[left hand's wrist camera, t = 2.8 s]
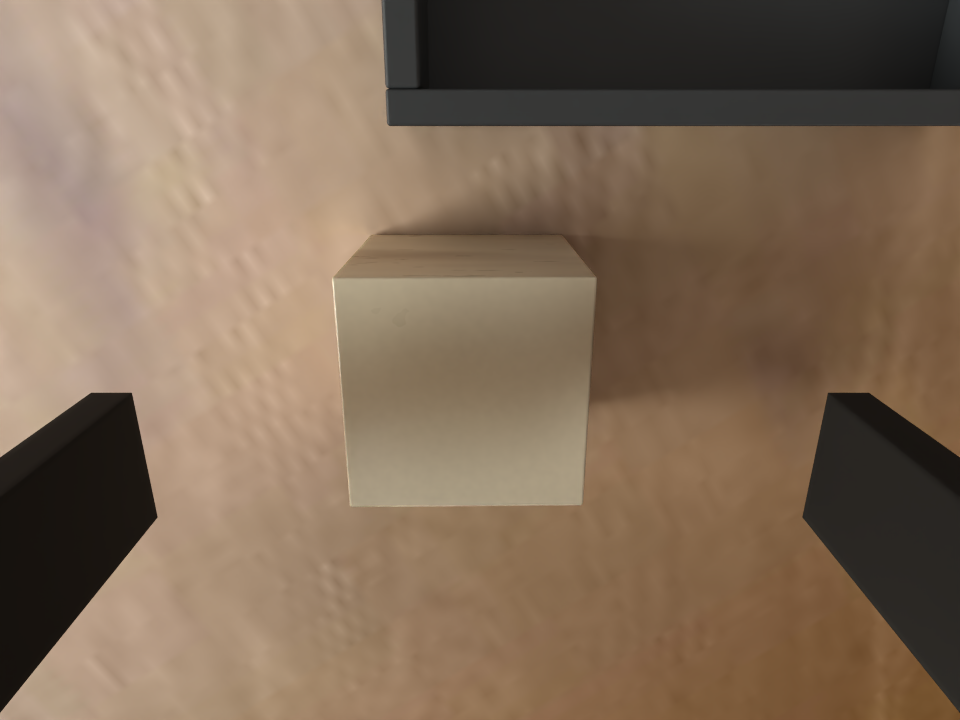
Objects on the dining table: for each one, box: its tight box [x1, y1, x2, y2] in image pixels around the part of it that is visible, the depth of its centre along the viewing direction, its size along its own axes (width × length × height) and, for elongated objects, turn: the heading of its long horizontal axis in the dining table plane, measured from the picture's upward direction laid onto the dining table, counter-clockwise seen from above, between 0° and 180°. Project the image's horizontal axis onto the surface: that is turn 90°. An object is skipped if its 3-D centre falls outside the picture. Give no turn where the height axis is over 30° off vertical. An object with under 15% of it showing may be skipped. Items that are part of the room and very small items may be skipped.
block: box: [332, 235, 597, 507], centre depth 18 cm, size 6×6×6 cm
